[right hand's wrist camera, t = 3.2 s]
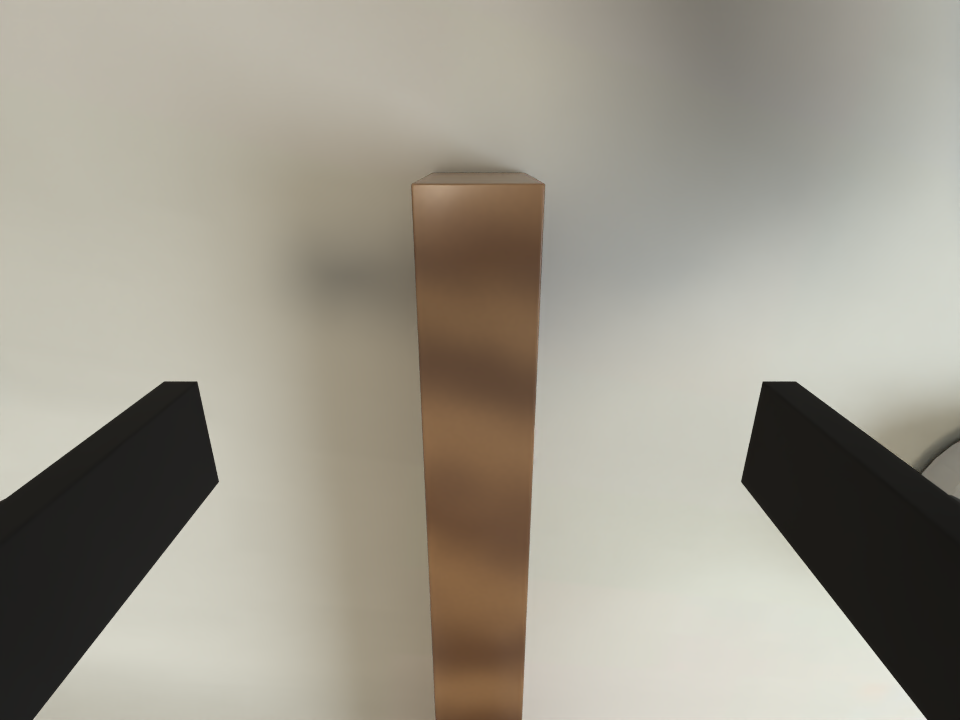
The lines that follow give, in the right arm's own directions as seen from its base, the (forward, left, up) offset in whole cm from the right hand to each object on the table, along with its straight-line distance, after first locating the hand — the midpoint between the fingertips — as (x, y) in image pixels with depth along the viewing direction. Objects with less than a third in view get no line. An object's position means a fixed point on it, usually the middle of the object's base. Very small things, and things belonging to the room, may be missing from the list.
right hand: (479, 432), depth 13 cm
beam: (+6, +20, -16) cm, 26 cm away
